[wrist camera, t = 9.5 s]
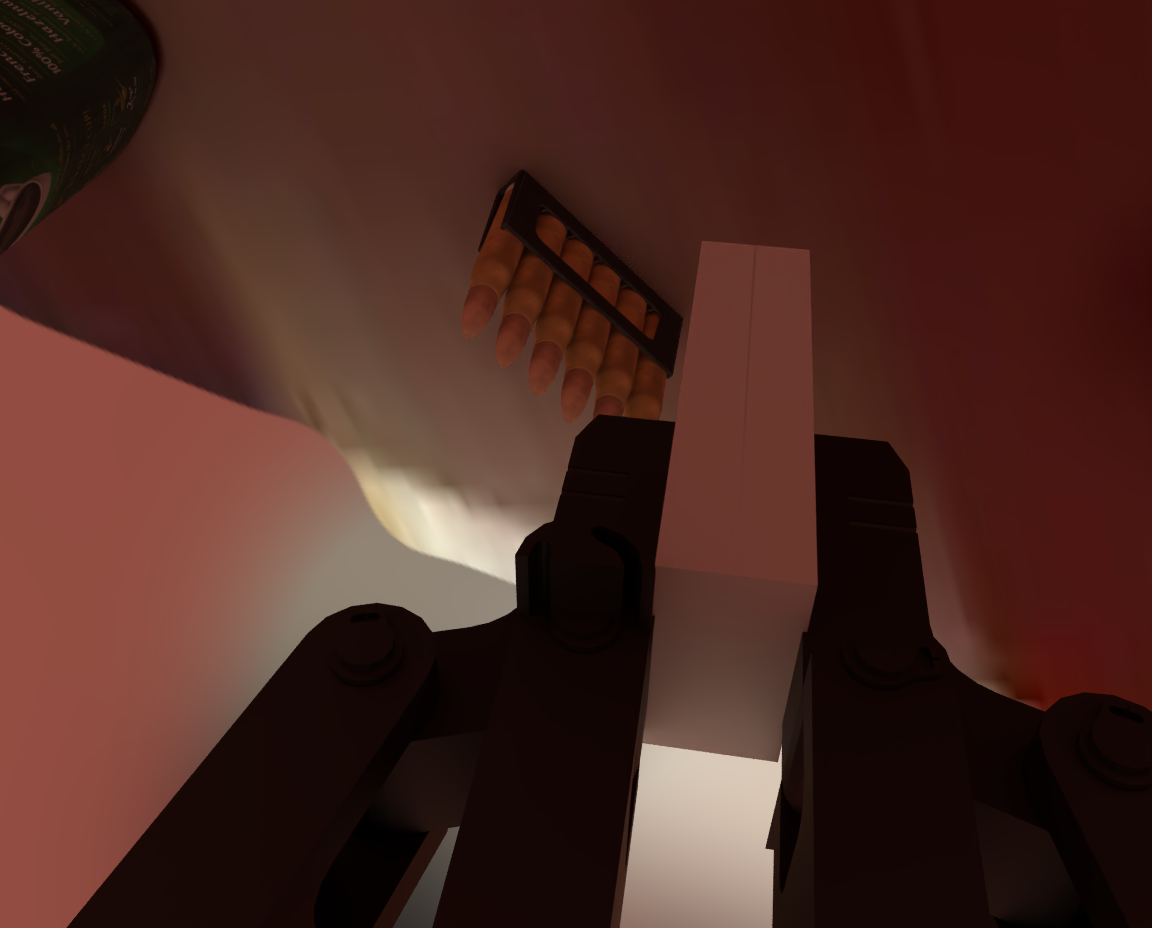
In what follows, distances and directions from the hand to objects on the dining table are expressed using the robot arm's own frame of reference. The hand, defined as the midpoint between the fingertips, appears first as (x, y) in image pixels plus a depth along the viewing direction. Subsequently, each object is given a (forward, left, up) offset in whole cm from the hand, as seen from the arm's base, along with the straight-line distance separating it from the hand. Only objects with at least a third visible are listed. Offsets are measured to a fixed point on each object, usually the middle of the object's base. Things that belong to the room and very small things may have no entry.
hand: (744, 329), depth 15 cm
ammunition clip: (+6, +16, -31) cm, 35 cm away
